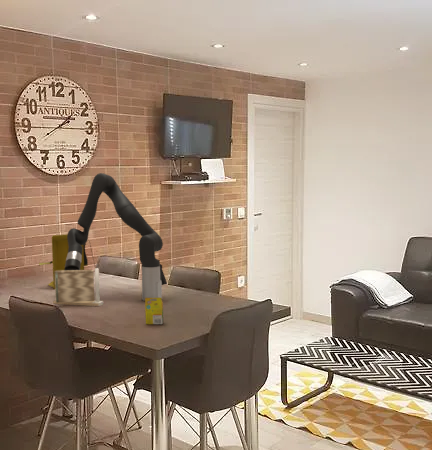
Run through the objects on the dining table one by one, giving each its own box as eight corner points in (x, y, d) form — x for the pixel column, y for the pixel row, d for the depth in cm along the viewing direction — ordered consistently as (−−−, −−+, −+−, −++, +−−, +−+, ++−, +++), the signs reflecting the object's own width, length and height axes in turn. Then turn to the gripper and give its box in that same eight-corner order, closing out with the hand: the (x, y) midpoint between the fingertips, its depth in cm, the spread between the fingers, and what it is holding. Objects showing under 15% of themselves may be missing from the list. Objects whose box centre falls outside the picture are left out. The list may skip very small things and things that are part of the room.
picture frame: (103, 303, 293) (102, 267, 291) (99, 306, 288) (98, 269, 286) (58, 301, 299) (56, 266, 297) (53, 303, 294) (51, 267, 292)
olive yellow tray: (88, 280, 354) (86, 230, 351) (97, 284, 343) (96, 232, 340) (36, 286, 336) (34, 234, 333) (44, 290, 325) (42, 236, 322)
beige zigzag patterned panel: (94, 300, 291) (93, 269, 290) (94, 301, 290) (93, 270, 288) (56, 301, 290) (55, 270, 288) (55, 302, 288) (54, 271, 286)
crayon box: (163, 322, 257) (163, 296, 256) (162, 324, 254) (162, 297, 253) (146, 322, 257) (145, 296, 256) (145, 324, 254) (144, 297, 253)
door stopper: (153, 286, 335) (152, 265, 334) (148, 284, 340) (147, 263, 339) (167, 284, 340) (166, 263, 339) (162, 282, 345) (161, 262, 344)
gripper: (58, 258, 298) (53, 287, 287) (85, 257, 298) (80, 286, 287) (61, 266, 304) (56, 295, 293) (87, 266, 304) (83, 295, 293)
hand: (68, 291), depth 290 cm, fingers closed
